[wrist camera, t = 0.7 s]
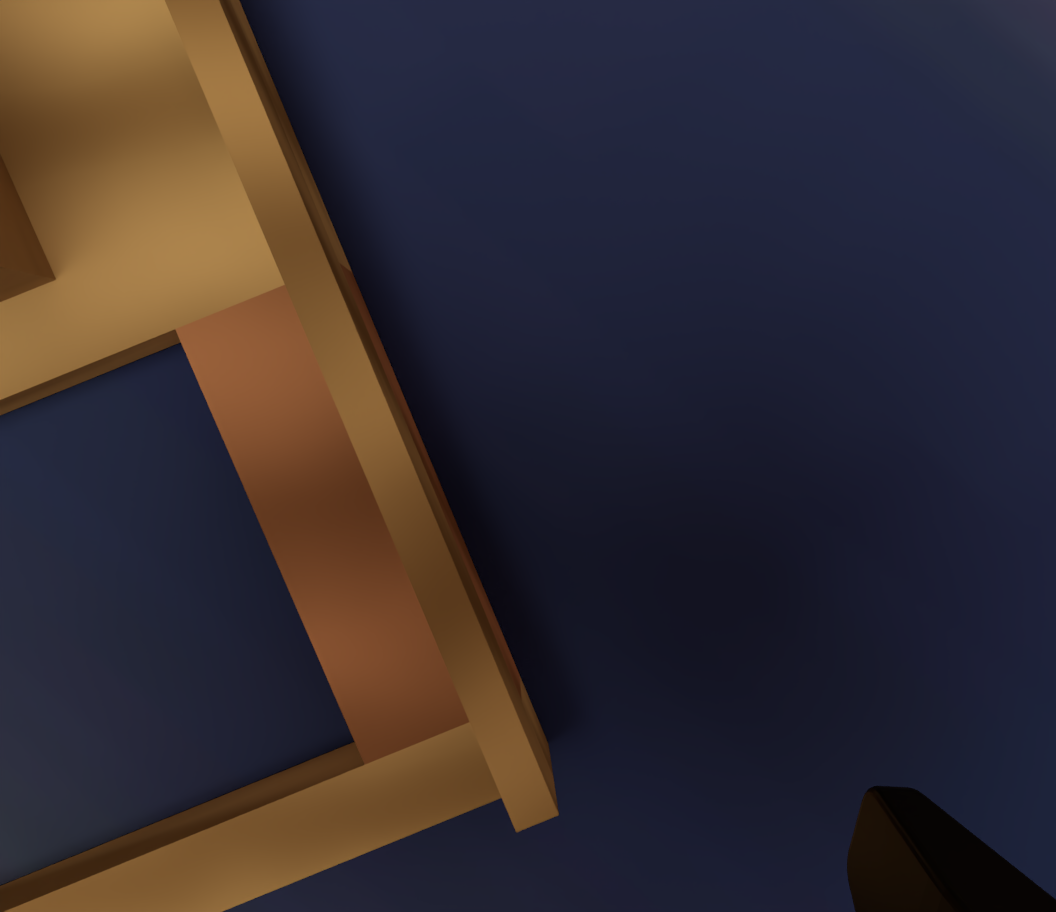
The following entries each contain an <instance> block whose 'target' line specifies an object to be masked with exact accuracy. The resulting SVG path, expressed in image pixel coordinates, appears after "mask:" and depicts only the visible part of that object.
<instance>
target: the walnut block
mask: <svg viewBox="0 0 1056 912" xmlns="http://www.w3.org/2000/svg"><path fill="white" fill-rule="evenodd" d="M54 280H56V278H55V276H54V273H53V271H52V269H51V267H50V264H49V262H48V260H47V258H46V255H45V253H44V251H43V249H42V246H41V244H40V242H39V240H38V237H37V235H36V233H35V231H34V228H33V226H32V224H31V222H30V219H29V217H28V215H27V213H26V210H25V208H24V206H23V204H22V201H21V199H20V197H19V195H18V192H17V190H16V188H15V186H14V183H13V181H12V179H11V177H10V175H9V172H8V170H7V168H6V166H5V163H4V161H3V159H2V157H1V154H0V302H2V301H5V300H7V299H10V298H12V297H14V296H17V295H19V294H22V293H24V292H27V291H29V290H32V289H34V288H37V287H39V286H42V285H44V284H47V283H49V282H52V281H54Z"/></svg>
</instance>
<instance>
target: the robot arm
mask: <svg viewBox="0 0 1056 912" xmlns="http://www.w3.org/2000/svg"><path fill="white" fill-rule="evenodd" d="M847 873H848V881H849V886H850V890H851V894H852V899H853V903H854V907H855V911H856V912H1056V899H1054V898H1053V897H1052V896H1051V895H1049V894H1048V893H1047V892H1046V891H1044V890H1043V889H1042V888H1041V887H1039V886H1038V885H1037V884H1035V883H1034V882H1033V881H1032V880H1030V879H1029V878H1028V877H1027V876H1025V875H1024V874H1023V873H1022V872H1020V871H1019V870H1018V869H1017V868H1015V867H1014V866H1013V865H1012V864H1010V863H1009V862H1008V861H1007V860H1005V859H1004V858H1003V857H1002V856H1000V855H999V854H998V853H996V852H995V851H994V850H993V849H991V848H990V847H989V846H988V845H986V844H985V843H984V842H983V841H981V840H980V839H979V838H978V837H976V836H975V835H974V834H973V833H971V832H970V831H969V830H968V829H966V828H965V827H964V826H962V825H961V824H960V823H959V822H957V821H956V820H955V819H954V818H952V817H951V816H950V815H949V814H947V813H946V812H945V811H944V810H942V809H941V808H940V807H939V806H937V805H936V804H935V803H934V802H932V801H931V800H930V799H929V798H927V797H926V796H925V795H923V794H922V793H921V792H919V791H918V790H915V789H913V788H908V787H890V786H874V787H871V788H870V789H868V790H867V792H866V793H865V795H864V797H863V800H862V803H861V807H860V811H859V814H858V818H857V822H856V826H855V829H854V833H853V837H852V841H851V844H850V848H849V852H848V859H847Z"/></svg>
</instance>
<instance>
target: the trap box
mask: <svg viewBox="0 0 1056 912" xmlns="http://www.w3.org/2000/svg"><path fill="white" fill-rule="evenodd" d="M0 154H1V157H2V159H3V161H4V163H5V166H6V168H7V170H8V172H9V175H10V177H11V179H12V181H13V183H14V186H15V188H16V190H17V192H18V195H19V197H20V199H21V201H22V204H23V206H24V208H25V210H26V213H27V215H28V217H29V219H30V222H31V224H32V226H33V228H34V231H35V233H36V235H37V237H38V240H39V242H40V244H41V246H42V249H43V251H44V253H45V255H46V258H47V260H48V262H49V264H50V267H51V269H52V271H53V273H54V276H55V278H56V280H54V281H52V282H49V283H47V284H44V285H42V286H39V287H37V288H34V289H32V290H29V291H27V292H24V293H22V294H19V295H17V296H14V297H12V298H10V299H7V300H5V301H2V302H0V415H3V414H5V413H7V412H10V411H12V410H15V409H17V408H20V407H22V406H25V405H27V404H30V403H32V402H35V401H37V400H40V399H42V398H44V397H47V396H49V395H52V394H54V393H57V392H59V391H62V390H64V389H67V388H69V387H72V386H74V385H77V384H79V383H82V382H84V381H86V380H89V379H91V378H94V377H96V376H99V375H101V374H104V373H106V372H109V371H111V370H114V369H116V368H119V367H121V366H123V365H126V364H128V363H131V362H133V361H136V360H138V359H141V358H143V357H146V356H148V355H151V354H153V353H156V352H158V351H161V350H163V349H165V348H168V347H170V346H173V345H175V344H178V343H180V342H181V344H182V346H183V348H184V351H185V353H186V355H187V358H188V360H189V362H190V364H191V367H192V369H193V371H194V374H195V376H196V378H197V380H198V383H199V385H200V387H201V390H202V392H203V394H204V397H205V399H206V401H207V403H208V406H209V408H210V410H211V413H212V415H213V417H214V420H215V422H216V424H217V426H218V429H219V431H220V433H221V436H222V438H223V440H224V443H225V445H226V447H227V449H228V452H229V454H230V456H231V459H232V461H233V463H234V466H235V468H236V470H237V472H238V475H239V477H240V479H241V482H242V484H243V486H244V489H245V491H246V493H247V495H248V498H249V500H250V502H251V505H252V507H253V509H254V512H255V514H256V516H257V518H258V521H259V523H260V525H261V528H262V530H263V532H264V534H265V537H266V539H267V541H268V544H269V546H270V548H271V551H272V553H273V555H274V557H275V560H276V562H277V564H278V567H279V569H280V571H281V574H282V576H283V578H284V580H285V583H286V585H287V587H288V590H289V592H290V594H291V597H292V599H293V601H294V603H295V606H296V608H297V610H298V613H299V615H300V617H301V620H302V622H303V624H304V626H305V629H306V631H307V633H308V636H309V638H310V640H311V643H312V645H313V647H314V649H315V652H316V654H317V656H318V659H319V661H320V663H321V666H322V668H323V670H324V672H325V675H326V677H327V679H328V682H329V684H330V686H331V689H332V691H333V693H334V695H335V698H336V700H337V702H338V705H339V707H340V709H341V711H342V714H343V716H344V718H345V721H346V723H347V725H348V728H349V730H350V732H351V734H352V737H353V739H354V741H355V742H353V743H351V744H348V745H346V746H343V747H341V748H338V749H336V750H333V751H331V752H328V753H326V754H323V755H321V756H319V757H316V758H314V759H311V760H309V761H306V762H304V763H301V764H299V765H296V766H294V767H292V768H289V769H287V770H284V771H282V772H279V773H277V774H274V775H272V776H269V777H267V778H265V779H262V780H260V781H257V782H255V783H252V784H250V785H247V786H245V787H242V788H240V789H237V790H235V791H233V792H230V793H228V794H225V795H223V796H220V797H218V798H215V799H213V800H210V801H208V802H206V803H203V804H201V805H198V806H196V807H193V808H191V809H188V810H186V811H183V812H181V813H178V814H176V815H174V816H171V817H169V818H166V819H164V820H161V821H159V822H156V823H154V824H151V825H149V826H147V827H144V828H142V829H139V830H137V831H134V832H132V833H129V834H127V835H124V836H122V837H120V838H117V839H115V840H112V841H110V842H107V843H105V844H102V845H100V846H97V847H95V848H92V849H90V850H88V851H85V852H83V853H80V854H78V855H75V856H73V857H70V858H68V859H65V860H63V861H61V862H58V863H56V864H53V865H51V866H48V867H46V868H43V869H41V870H38V871H36V872H33V873H31V874H29V875H26V876H24V877H21V878H19V879H16V880H14V881H11V882H9V883H6V884H4V885H2V886H0V912H222V911H225V910H227V909H229V908H232V907H234V906H237V905H239V904H242V903H244V902H247V901H249V900H252V899H254V898H256V897H259V896H261V895H264V894H266V893H269V892H271V891H274V890H276V889H279V888H281V887H283V886H286V885H288V884H291V883H293V882H296V881H298V880H301V879H303V878H306V877H308V876H310V875H313V874H315V873H318V872H320V871H323V870H325V869H328V868H330V867H333V866H335V865H337V864H340V863H342V862H345V861H347V860H350V859H352V858H355V857H357V856H360V855H362V854H365V853H367V852H369V851H372V850H374V849H377V848H379V847H382V846H384V845H387V844H389V843H392V842H394V841H396V840H399V839H401V838H404V837H406V836H409V835H411V834H414V833H416V832H419V831H421V830H423V829H426V828H428V827H431V826H433V825H436V824H438V823H441V822H443V821H446V820H448V819H450V818H453V817H455V816H458V815H460V814H463V813H465V812H468V811H470V810H473V809H475V808H477V807H480V806H482V805H485V804H487V803H490V802H492V801H495V800H497V799H500V798H502V800H503V802H504V804H505V807H506V809H507V812H508V814H509V816H510V819H511V821H512V823H513V826H514V828H515V830H516V832H518V831H521V830H523V829H526V828H528V827H531V826H533V825H536V824H538V823H540V822H543V821H545V820H548V819H550V818H553V817H555V816H558V815H559V812H558V805H557V798H556V792H555V785H554V778H553V772H552V765H551V758H550V751H549V745H548V742H547V740H546V737H545V735H544V733H543V730H542V728H541V725H540V723H539V721H538V718H537V716H536V713H535V711H534V708H533V706H532V704H531V701H530V699H529V696H528V694H527V692H526V689H525V687H524V684H523V682H522V680H521V677H520V675H519V672H518V670H517V668H516V665H515V663H514V660H513V658H512V656H511V653H510V651H509V648H508V646H507V644H506V641H505V639H504V636H503V634H502V631H501V629H500V627H499V624H498V622H497V619H496V617H495V615H494V612H493V610H492V607H491V605H490V603H489V600H488V598H487V595H486V593H485V591H484V588H483V586H482V583H481V581H480V579H479V576H478V574H477V571H476V569H475V567H474V564H473V562H472V559H471V557H470V554H469V552H468V550H467V547H466V545H465V542H464V540H463V538H462V535H461V533H460V530H459V528H458V526H457V523H456V521H455V518H454V516H453V514H452V511H451V509H450V506H449V504H448V502H447V499H446V497H445V494H444V492H443V489H442V487H441V485H440V482H439V480H438V477H437V475H436V473H435V470H434V468H433V465H432V463H431V461H430V458H429V456H428V453H427V451H426V449H425V446H424V444H423V441H422V439H421V437H420V434H419V432H418V429H417V427H416V425H415V422H414V420H413V417H412V415H411V412H410V410H409V408H408V405H407V403H406V400H405V398H404V396H403V393H402V391H401V388H400V386H399V384H398V381H397V379H396V376H395V374H394V372H393V369H392V367H391V364H390V362H389V360H388V357H387V355H386V352H385V350H384V347H383V345H382V343H381V340H380V338H379V335H378V333H377V331H376V328H375V326H374V323H373V321H372V319H371V316H370V314H369V311H368V309H367V307H366V304H365V302H364V299H363V297H362V295H361V292H360V290H359V287H358V285H357V283H356V280H355V278H354V275H353V273H352V270H351V268H350V266H349V263H348V261H347V258H346V256H345V254H344V251H343V249H342V246H341V244H340V242H339V239H338V237H337V234H336V232H335V230H334V227H333V225H332V222H331V220H330V218H329V215H328V213H327V210H326V208H325V206H324V203H323V201H322V198H321V196H320V193H319V191H318V189H317V186H316V184H315V181H314V179H313V177H312V174H311V172H310V169H309V167H308V165H307V162H306V160H305V157H304V155H303V153H302V150H301V148H300V145H299V143H298V141H297V138H296V136H295V133H294V131H293V128H292V126H291V124H290V121H289V119H288V116H287V114H286V112H285V109H284V107H283V104H282V102H281V100H280V97H279V95H278V92H277V90H276V88H275V85H274V83H273V80H272V78H271V76H270V73H269V71H268V68H267V66H266V64H265V61H264V59H263V56H262V54H261V51H260V49H259V47H258V44H257V42H256V39H255V37H254V35H253V32H252V30H251V27H250V25H249V23H248V20H247V18H246V15H245V13H244V11H243V8H242V6H241V3H240V1H239V0H0Z"/></svg>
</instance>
